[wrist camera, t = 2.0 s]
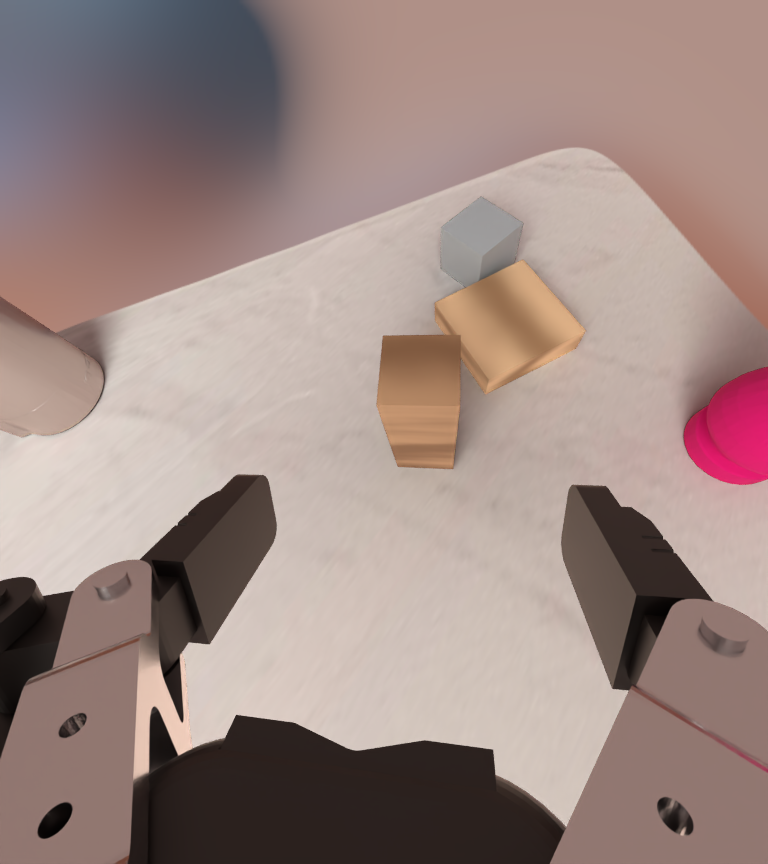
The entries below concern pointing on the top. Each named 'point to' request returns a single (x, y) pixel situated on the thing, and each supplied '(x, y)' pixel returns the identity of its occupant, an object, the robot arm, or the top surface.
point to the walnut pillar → (420, 398)
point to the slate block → (479, 242)
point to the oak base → (508, 325)
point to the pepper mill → (733, 431)
